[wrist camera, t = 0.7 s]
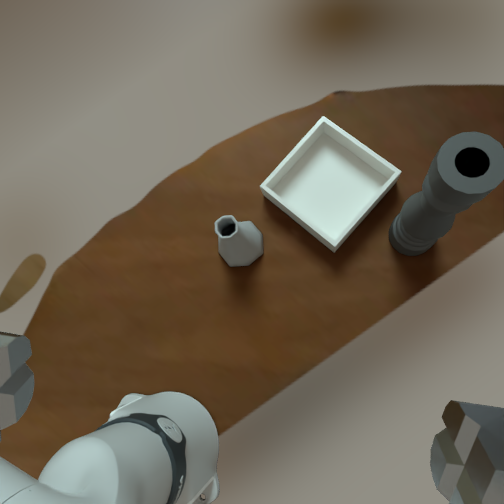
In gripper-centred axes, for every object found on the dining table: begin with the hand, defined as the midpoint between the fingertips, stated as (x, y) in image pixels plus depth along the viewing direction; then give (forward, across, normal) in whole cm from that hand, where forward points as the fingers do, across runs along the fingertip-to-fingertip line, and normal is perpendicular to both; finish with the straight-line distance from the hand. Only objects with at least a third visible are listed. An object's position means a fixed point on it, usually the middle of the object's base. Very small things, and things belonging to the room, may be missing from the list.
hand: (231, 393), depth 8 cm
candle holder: (+52, +20, -11) cm, 57 cm away
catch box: (+56, +8, -7) cm, 57 cm away
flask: (+53, -4, -17) cm, 55 cm away
